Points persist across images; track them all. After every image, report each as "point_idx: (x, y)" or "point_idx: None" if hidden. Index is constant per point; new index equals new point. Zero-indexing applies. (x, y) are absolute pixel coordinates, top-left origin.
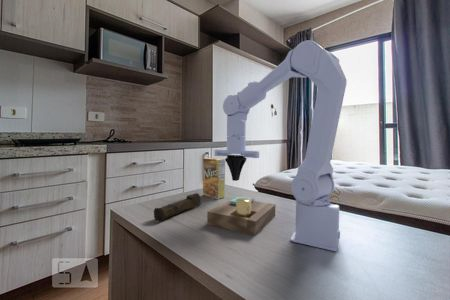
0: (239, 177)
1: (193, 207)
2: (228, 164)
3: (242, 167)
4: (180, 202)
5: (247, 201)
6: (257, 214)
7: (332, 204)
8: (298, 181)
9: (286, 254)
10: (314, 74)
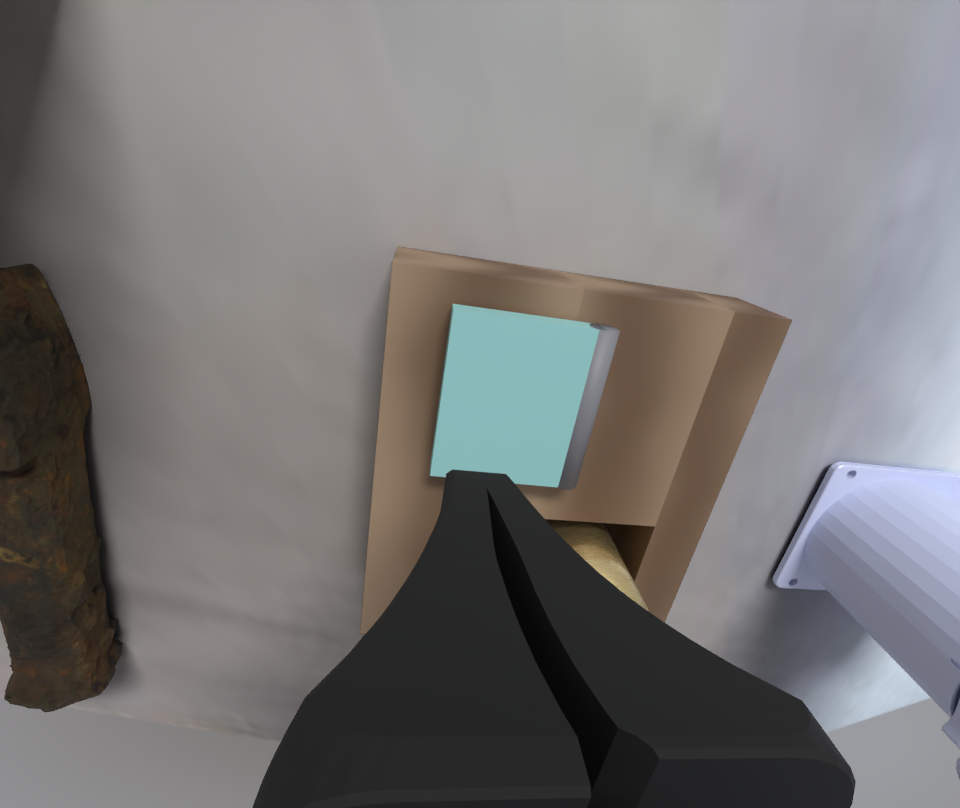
0: (519, 490)
1: (83, 400)
2: None
3: (614, 589)
4: (30, 558)
5: None
6: (659, 562)
7: None
8: None
9: (739, 652)
10: None
